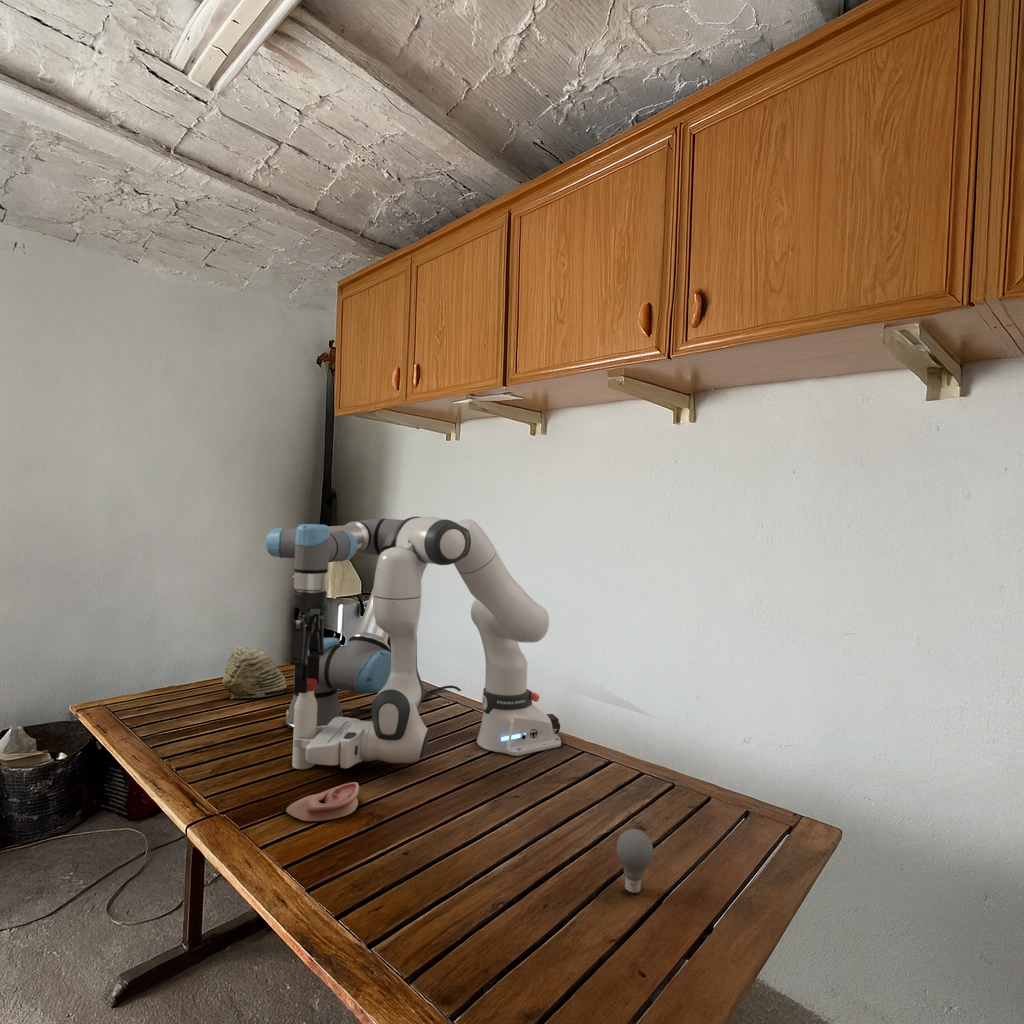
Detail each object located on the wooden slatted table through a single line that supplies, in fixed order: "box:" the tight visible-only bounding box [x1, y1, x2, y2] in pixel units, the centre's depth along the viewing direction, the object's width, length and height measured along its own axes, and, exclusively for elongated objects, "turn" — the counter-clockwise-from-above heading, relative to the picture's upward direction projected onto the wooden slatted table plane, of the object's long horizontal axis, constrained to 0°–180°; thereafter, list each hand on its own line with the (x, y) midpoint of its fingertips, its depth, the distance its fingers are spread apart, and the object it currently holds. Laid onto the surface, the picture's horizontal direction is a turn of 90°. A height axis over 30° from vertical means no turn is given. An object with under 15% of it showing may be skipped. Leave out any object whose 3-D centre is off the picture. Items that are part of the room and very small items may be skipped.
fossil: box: [222, 646, 288, 699], centre depth 198 cm, size 9×18×15 cm, turn 132°
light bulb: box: [615, 828, 654, 894], centre depth 106 cm, size 6×6×10 cm
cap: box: [307, 678, 317, 692], centre depth 149 cm, size 5×5×2 cm
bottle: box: [291, 691, 317, 770], centre depth 149 cm, size 5×5×19 cm
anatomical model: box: [285, 781, 360, 822], centre depth 129 cm, size 13×4×12 cm
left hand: (306, 687), depth 149 cm, fingers open, 7 cm apart
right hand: (301, 736), depth 149 cm, fingers closed on bottle, 5 cm apart
